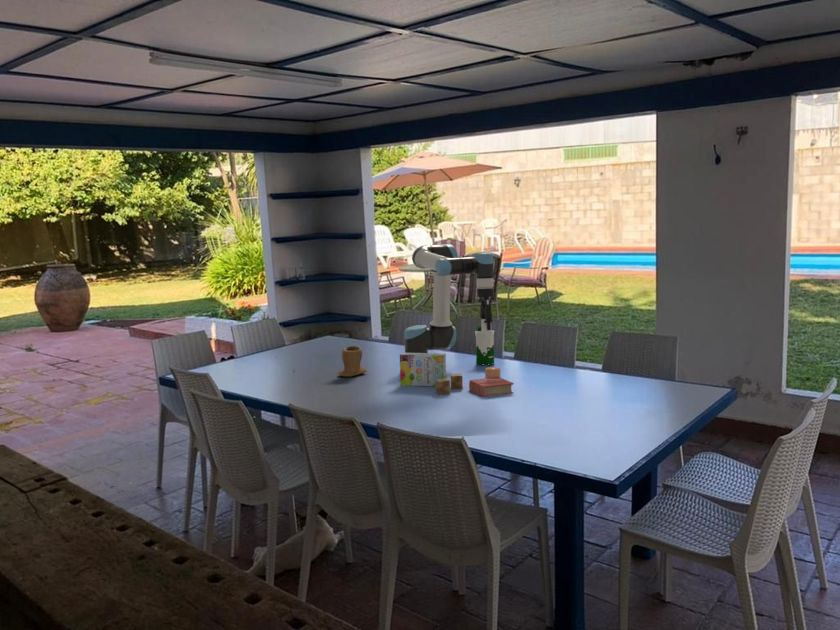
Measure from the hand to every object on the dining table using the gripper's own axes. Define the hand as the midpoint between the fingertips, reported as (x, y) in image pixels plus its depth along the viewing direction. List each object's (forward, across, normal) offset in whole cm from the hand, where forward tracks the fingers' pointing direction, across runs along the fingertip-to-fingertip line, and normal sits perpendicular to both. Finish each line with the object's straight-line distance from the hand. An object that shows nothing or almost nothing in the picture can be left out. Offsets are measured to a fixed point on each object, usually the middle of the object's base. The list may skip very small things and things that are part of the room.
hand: (486, 335), depth 322 cm
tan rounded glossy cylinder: (+25, +10, -4) cm, 27 cm away
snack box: (+25, +16, +28) cm, 41 cm away
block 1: (+25, -2, +20) cm, 32 cm away
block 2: (+25, +8, +13) cm, 29 cm away
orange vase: (+24, +44, +62) cm, 80 cm away
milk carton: (+24, +61, -7) cm, 66 cm away
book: (+26, -3, -1) cm, 26 cm away
